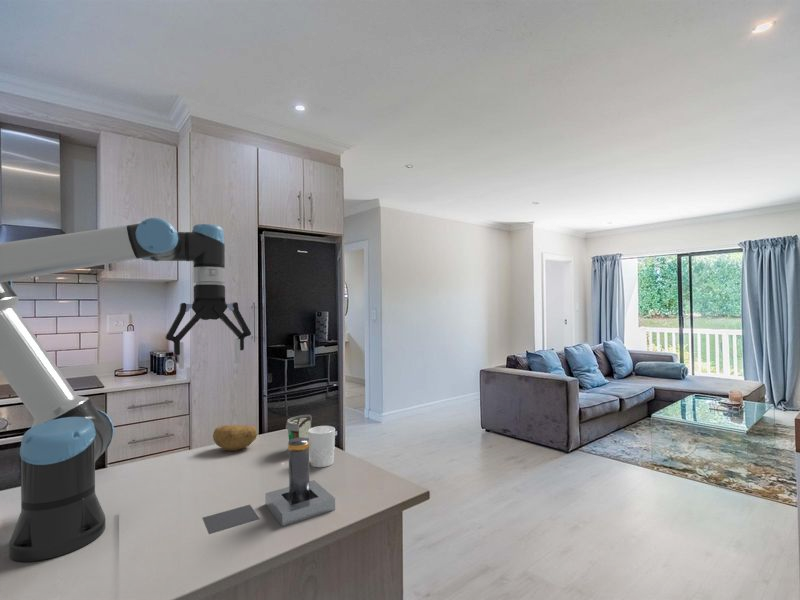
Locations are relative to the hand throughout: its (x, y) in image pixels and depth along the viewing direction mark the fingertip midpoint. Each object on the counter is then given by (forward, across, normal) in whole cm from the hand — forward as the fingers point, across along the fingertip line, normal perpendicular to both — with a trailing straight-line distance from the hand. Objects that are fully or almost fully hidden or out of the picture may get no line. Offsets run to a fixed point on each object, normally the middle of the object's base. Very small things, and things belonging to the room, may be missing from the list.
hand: (210, 365), depth 108 cm
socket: (+32, +14, -26) cm, 43 cm away
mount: (+32, 0, -22) cm, 39 cm away
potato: (+32, +12, +27) cm, 44 cm away
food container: (+32, +28, +14) cm, 45 cm away
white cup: (+32, +30, -2) cm, 44 cm away
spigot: (+32, +14, -26) cm, 43 cm away
